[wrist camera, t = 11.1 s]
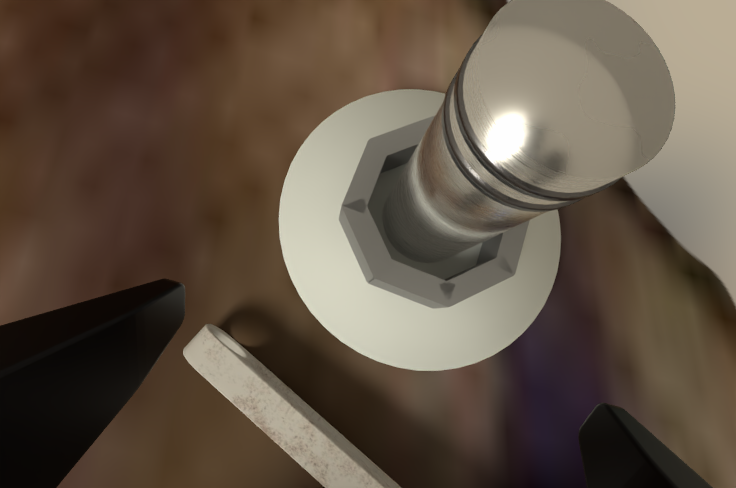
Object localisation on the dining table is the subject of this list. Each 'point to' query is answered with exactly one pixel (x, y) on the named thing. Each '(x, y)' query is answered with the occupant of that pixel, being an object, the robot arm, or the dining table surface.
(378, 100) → the white and grey disc
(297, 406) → the wrench
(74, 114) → the dining table surface
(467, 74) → the piston
